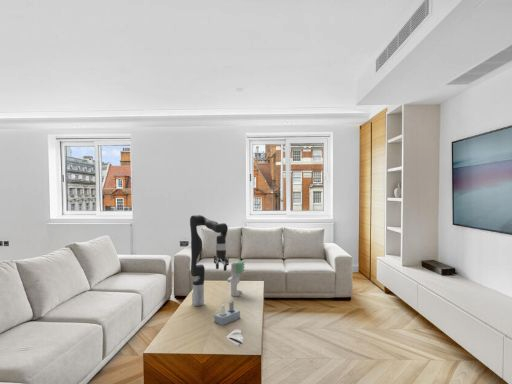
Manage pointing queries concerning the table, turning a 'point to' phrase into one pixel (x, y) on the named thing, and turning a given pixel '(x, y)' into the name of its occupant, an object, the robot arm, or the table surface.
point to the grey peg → (231, 306)
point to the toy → (235, 277)
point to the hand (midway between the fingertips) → (221, 269)
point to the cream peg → (222, 310)
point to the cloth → (235, 337)
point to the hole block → (226, 317)
